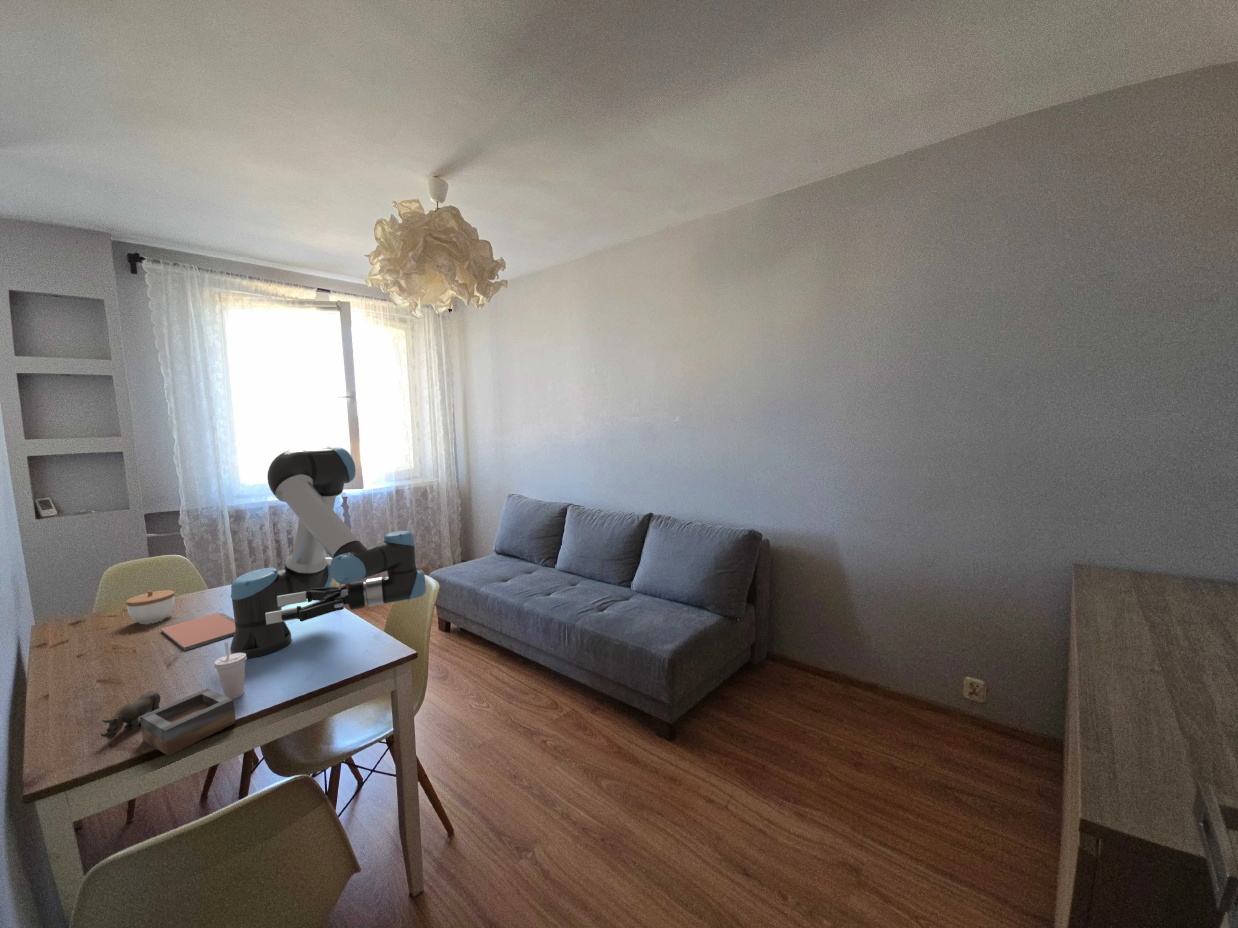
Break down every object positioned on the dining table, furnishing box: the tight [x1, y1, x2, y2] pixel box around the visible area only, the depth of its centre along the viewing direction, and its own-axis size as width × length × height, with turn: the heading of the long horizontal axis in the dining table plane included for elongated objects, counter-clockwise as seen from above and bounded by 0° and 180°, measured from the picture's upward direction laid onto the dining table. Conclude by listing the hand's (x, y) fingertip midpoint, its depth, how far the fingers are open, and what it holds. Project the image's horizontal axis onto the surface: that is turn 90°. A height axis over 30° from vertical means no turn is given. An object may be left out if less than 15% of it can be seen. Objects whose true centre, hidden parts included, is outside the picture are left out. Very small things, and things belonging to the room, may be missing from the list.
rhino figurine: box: [100, 690, 161, 740], centre depth 109 cm, size 4×14×6 cm, turn 2°
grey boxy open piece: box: [139, 687, 237, 757], centre depth 107 cm, size 12×12×6 cm
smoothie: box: [213, 641, 248, 700], centre depth 121 cm, size 6×6×14 cm
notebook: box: [160, 612, 235, 652], centre depth 163 cm, size 27×17×2 cm, turn 55°
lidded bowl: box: [125, 589, 176, 625], centre depth 174 cm, size 13×13×11 cm
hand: (272, 609), depth 123 cm, fingers open, 13 cm apart
